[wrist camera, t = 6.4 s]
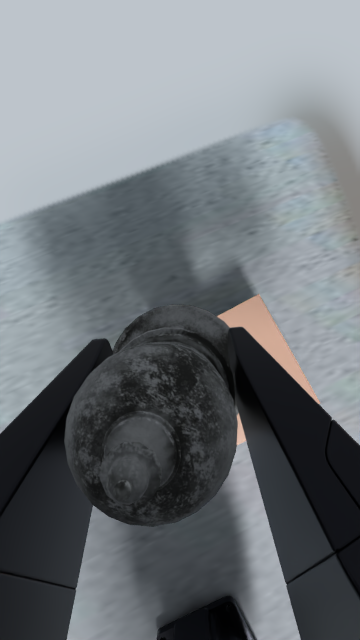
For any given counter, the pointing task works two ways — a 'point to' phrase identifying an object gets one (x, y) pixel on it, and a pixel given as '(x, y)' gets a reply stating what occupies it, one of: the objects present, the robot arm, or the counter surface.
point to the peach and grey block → (265, 342)
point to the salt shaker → (156, 419)
